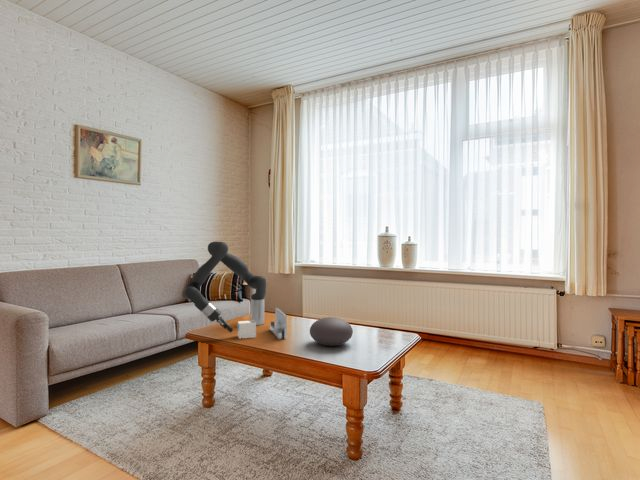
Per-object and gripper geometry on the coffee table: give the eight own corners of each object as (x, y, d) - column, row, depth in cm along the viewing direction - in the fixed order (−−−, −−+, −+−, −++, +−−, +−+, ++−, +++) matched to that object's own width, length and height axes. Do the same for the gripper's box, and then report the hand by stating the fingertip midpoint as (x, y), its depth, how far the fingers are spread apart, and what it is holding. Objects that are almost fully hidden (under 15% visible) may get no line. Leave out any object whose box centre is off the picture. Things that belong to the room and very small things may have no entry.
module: (236, 336, 219) (237, 320, 219) (254, 334, 223) (254, 319, 223) (238, 338, 214) (238, 322, 214) (255, 337, 217) (256, 321, 217)
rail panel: (269, 329, 235) (269, 308, 235) (277, 328, 237) (277, 307, 237) (278, 339, 213) (278, 315, 213) (286, 338, 215) (286, 315, 215)
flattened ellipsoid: (358, 341, 212) (358, 315, 211) (343, 353, 189) (344, 325, 189) (320, 336, 222) (320, 311, 222) (301, 347, 199) (302, 320, 199)
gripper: (216, 309, 206) (237, 328, 210) (214, 304, 218) (235, 323, 222) (206, 319, 204) (228, 338, 208) (205, 314, 216) (226, 332, 221)
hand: (231, 330), depth 215 cm, fingers closed
